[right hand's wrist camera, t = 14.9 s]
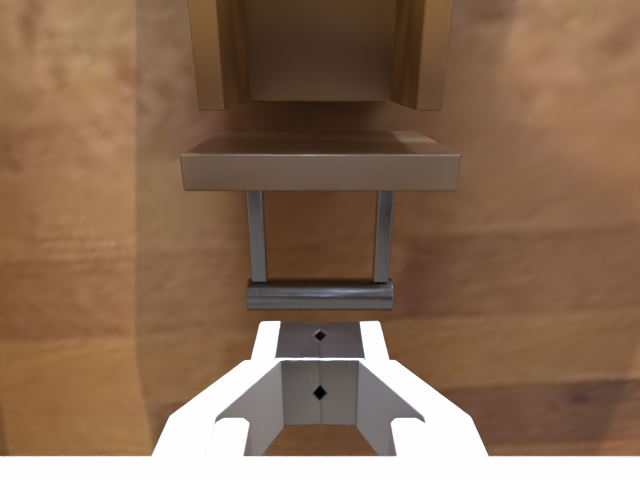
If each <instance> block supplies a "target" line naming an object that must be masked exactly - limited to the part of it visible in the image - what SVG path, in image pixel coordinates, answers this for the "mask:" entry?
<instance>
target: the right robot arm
mask: <svg viewBox="0 0 640 480" xmlns="http://www.w3.org/2000/svg"><path fill="white" fill-rule="evenodd" d="M317 424H322V425H356V428H357V429H358V430H359V431H360V433H361V434H362V435H363V437H364V438H365V439H366V441H367V442H368V443H369V444H370V446H371V447H372V448H373V450H374V451H375V452H376V454H377V455H378V456H262V455H263V454H264V453H265V451H266V450H267V449H268V447H269V446H270V445H271V443H272V442H273V441H274V440H275V438H276V437H277V436H278V434H279V433H280V432H281V431H282V429H283V428H284V425H317ZM0 480H640V456H488V454H487V452H486V450H485V447H484V445H483V443H482V441H481V438H480V436H479V434H478V432H477V429H476V427H475V425H474V423H473V420H472V418H471V417H470V416H469V415H468V414H466V413H465V412H464V411H462V410H461V409H460V408H458V407H457V406H456V405H454V404H453V403H452V402H450V401H449V400H448V399H446V398H445V397H444V396H442V395H441V394H440V393H438V392H437V391H436V390H434V389H433V388H432V387H430V386H429V385H428V384H426V383H425V382H424V381H422V380H421V379H420V378H418V377H417V376H416V375H414V374H413V373H412V372H410V371H409V370H408V369H406V368H405V367H404V366H402V365H401V364H400V363H398V362H397V361H396V360H389V356H388V352H387V348H386V344H385V340H384V336H383V332H382V329H381V325H380V322H379V321H362V322H326V323H320V322H292V321H282V322H280V321H262V322H261V323H260V324H259V328H258V332H257V336H256V340H255V344H254V348H253V352H252V356H251V360H244V361H243V362H242V363H240V364H239V365H238V366H236V367H235V368H234V369H232V370H231V371H230V372H228V373H227V374H226V375H224V376H223V377H222V378H220V379H219V380H218V381H216V382H215V383H213V384H212V385H211V386H209V387H208V388H207V389H205V390H204V391H203V392H201V393H200V394H199V395H197V396H196V397H195V398H193V399H192V400H191V401H189V402H188V403H187V404H185V405H184V406H183V407H181V408H180V409H179V410H177V411H176V412H175V413H173V414H172V415H171V416H169V419H168V421H167V423H166V425H165V428H164V430H163V432H162V434H161V436H160V439H159V441H158V443H157V445H156V447H155V450H154V452H153V454H152V456H0Z"/></svg>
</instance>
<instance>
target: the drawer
mask: <svg viewBox="0 0 640 480" xmlns="http://www.w3.org/2000/svg"><path fill="white" fill-rule="evenodd" d="M452 2H453V0H188V7H189V17H190V26H191V36H192V46H193V56H194V66H195V75H196V85H197V95H198V105H199V110H226V109H229V108H232V107H235V106H238V105H241V104H244V103H247V102H394V103H397V104H400V105H403V106H406V107H409V108H412V109H415V110H418V111H439V110H441V108H442V98H443V88H444V79H445V69H446V60H447V50H448V40H449V31H450V21H451V11H452ZM460 158H461V156H460V155H459V154H457V153H456V152H454V151H452V150H450V149H448V148H447V147H445V146H443V145H441V144H439V143H438V142H436V141H434V140H432V139H430V138H428V137H427V136H425V135H423V134H421V133H419V132H418V131H223V132H221V133H219V134H217V135H215V136H213V137H212V138H210V139H208V140H206V141H204V142H203V143H201V144H199V145H197V146H195V147H194V148H192V149H190V150H188V151H186V152H184V153H183V154H181V155H180V162H181V170H182V178H183V186H184V190H185V191H246V199H247V214H248V229H249V244H250V259H251V274H252V278H249V280H248V283H247V291H246V301H247V308H248V310H368V311H390V310H392V308H393V303H394V289H393V282H392V279H391V278H389V263H390V249H391V234H392V220H393V205H394V191H456V189H457V182H458V174H459V166H460ZM264 191H376V210H375V229H374V249H373V268H372V277H373V278H268V263H267V243H266V224H265V204H264Z"/></svg>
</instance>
